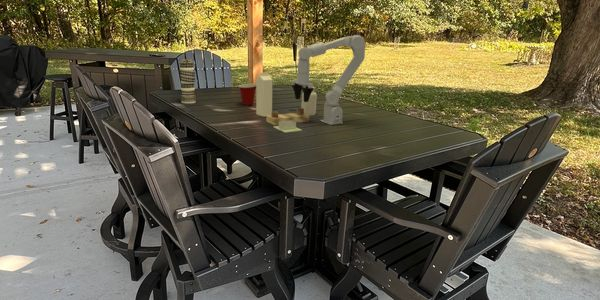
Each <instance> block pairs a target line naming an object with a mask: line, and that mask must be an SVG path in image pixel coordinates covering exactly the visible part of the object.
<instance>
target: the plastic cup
mask: <svg viewBox="0 0 600 300" xmlns="http://www.w3.org/2000/svg"><path fill="white" fill-rule="evenodd" d="M238 88H239V91H240V95H241V96H240V97H241V100H242V105H243V106H246V105H247V106H248V105H251V106H253V105H254V100H255V97H256V94H255V93H256V83H244V84H243V83H241V84H239V85H238ZM247 106H246V107H247ZM248 107H249V106H248Z"/></svg>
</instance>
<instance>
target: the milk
mask: <svg viewBox="0 0 600 300" xmlns="http://www.w3.org/2000/svg"><path fill="white" fill-rule="evenodd" d="M255 82H256V83H255V84H256V90H255V93H256V94H255V97H256V99H255V100H256V102H255V103H256V109H255V113H256V115H257V116H260V117H266V116H268V115H272V111H273V78H272V77H271V76H270V72H262V73H259V76H258V77H257V78H256V80H255Z"/></svg>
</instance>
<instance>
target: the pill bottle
mask: <svg viewBox="0 0 600 300" xmlns="http://www.w3.org/2000/svg"><path fill="white" fill-rule="evenodd" d="M313 88H314V90H313V91H312V93H311V95H310V97H309V101H308V102H304V95H303V92H301V93H302V94H301V107H300V108H303V109H304V114H307V115H309V117H310V116H315V115H316V113H317V99H318V98H317V97H318V94H317V92H315V91H316V87H315V86H313Z"/></svg>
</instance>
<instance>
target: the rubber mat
mask: <svg viewBox="0 0 600 300" xmlns="http://www.w3.org/2000/svg"><path fill="white" fill-rule="evenodd" d="M273 128H274V129H276V130H278V131H280V132H283V133H285V134H287V133H294V132H303V129H301V128H298V127H297V126H296V128H295V129H287V130H282V129H280V128H279V125H273Z"/></svg>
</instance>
